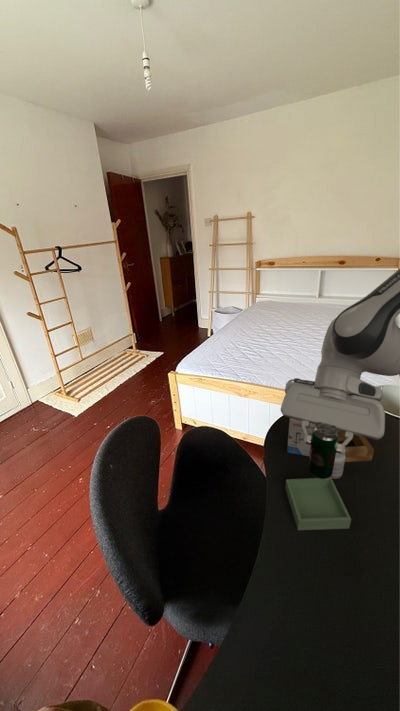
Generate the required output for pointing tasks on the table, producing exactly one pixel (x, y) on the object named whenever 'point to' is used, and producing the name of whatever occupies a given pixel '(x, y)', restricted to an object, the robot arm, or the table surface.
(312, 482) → the tray
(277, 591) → the table surface
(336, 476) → the pill bottle
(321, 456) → the soda can
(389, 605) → the table surface
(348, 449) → the rack
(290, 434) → the ink box
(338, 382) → the robot arm
